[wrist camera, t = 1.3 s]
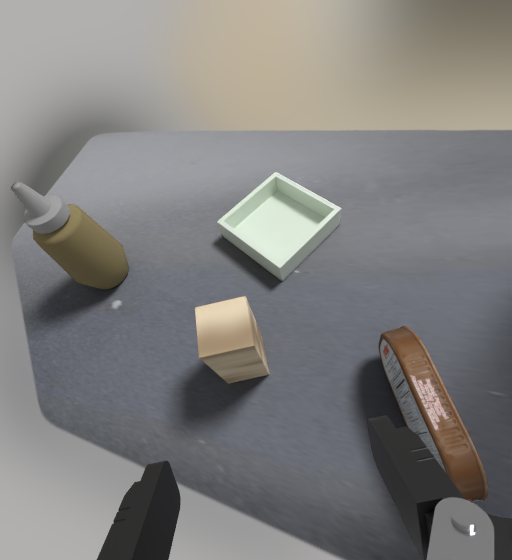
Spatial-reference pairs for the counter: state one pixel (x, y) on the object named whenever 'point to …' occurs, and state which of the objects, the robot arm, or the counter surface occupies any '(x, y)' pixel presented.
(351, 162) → the counter surface
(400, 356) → the tin
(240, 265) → the counter surface
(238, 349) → the beech block
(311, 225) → the bin
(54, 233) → the squeeze bottle
